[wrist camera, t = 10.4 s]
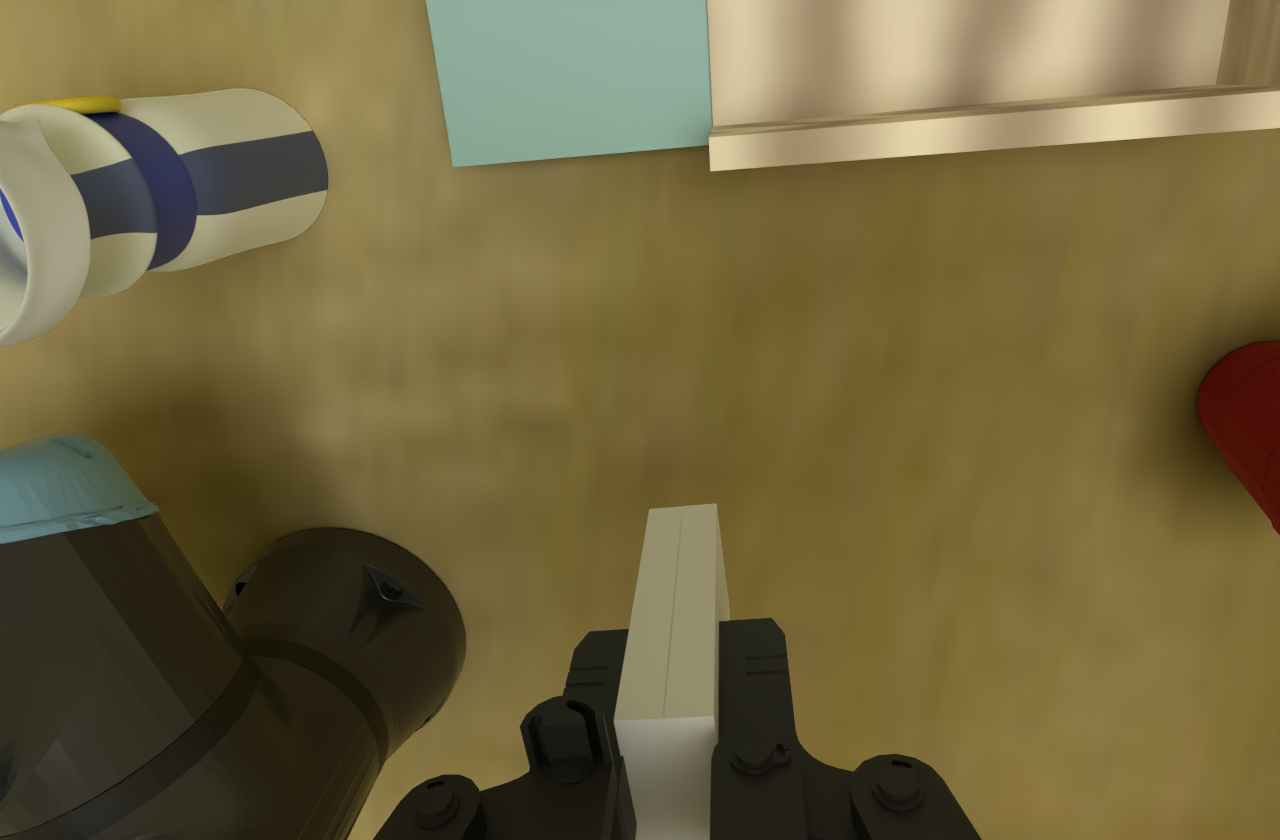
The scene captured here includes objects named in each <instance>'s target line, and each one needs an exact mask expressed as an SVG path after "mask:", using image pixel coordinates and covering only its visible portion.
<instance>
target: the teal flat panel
mask: <svg viewBox="0 0 1280 840" xmlns="http://www.w3.org/2000/svg"><path fill="white" fill-rule="evenodd" d="M426 4H427V10H428V17H429V23H430V29H431V35H432V41H433V47H434V53H435V59H436V65H437V71H438V77H439V84H440V90H441V96H442V102H443V108H444V114H445V120H446V126H447V132H448V138H449V145H450V151H451V157H452V163H453V167H463V166H474V165H486V164H497V163H509V162H520V161H532V160H543V159H555V158H566V157H578V156H589V155H601V154H612V153H623V152H635V151H646V150H658V149H669V148H681V147H692V146H704V145H709V136H710V133H711V130H712V128H713V124H712V103H711V82H710V61H709V41H708V20H707V0H426Z"/></svg>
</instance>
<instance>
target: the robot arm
mask: <svg viewBox="0 0 1280 840" xmlns="http://www.w3.org/2000/svg"><path fill="white" fill-rule="evenodd" d="M158 511H159V509H158V506H157V505H156V504H155V502H153V501H149V500H147V498H146V497H145V496H144V494H143V493H142V492H141V491H140V489H139V488H138V487H137V485H136V484H135V483H134V481H133V480H132V479H131V478H130V476H129V475H128V474H127V472H126V471H125V470H124V468H123V467H122V466H121V465H120V463H119V462H118V461H117V459H116V458H115V456H114V455H113V454H112V452H111V451H110V450H109V449H108V448H107V447H106V446H104V445H103V444H102V443H100V442H98V441H97V440H95V439H93V438H90V437H87V436H84V435H80V434H73V433H61V434H53V435H48V436H44V437H40V438H37V439H33V440H30V441H26V442H23V443H20V444H17V445H13V446H10V447H7V448H4V449H0V840H347V839H348V837H349V835H350V833H351V831H352V828H353V826H354V824H355V822H356V820H357V818H358V816H359V814H360V812H361V810H362V808H363V806H364V804H365V802H366V799H367V797H368V795H369V793H370V791H371V789H372V787H373V785H374V783H375V781H376V779H377V777H378V775H379V773H380V771H381V769H382V767H383V765H384V763H385V761H386V760H387V759H388V758H389V757H390V756H391V755H392V754H393V753H394V752H395V751H396V750H397V749H398V748H399V747H400V746H401V745H402V744H403V743H404V742H405V741H406V740H407V739H408V738H409V737H410V736H411V735H412V734H413V733H414V732H416V731H418V730H419V729H420V728H422V727H423V726H424V725H426V724H427V723H428V722H429V721H430V720H431V719H432V718H433V717H434V716H435V715H436V714H437V713H438V712H439V711H440V709H441V708H442V707H443V705H444V704H445V702H446V701H447V699H448V697H449V695H450V693H451V691H452V689H453V687H454V685H455V682H456V680H457V678H458V676H459V674H460V671H461V669H462V665H463V662H464V657H465V633H464V627H463V623H462V619H461V616H460V614H459V611H458V609H457V606H456V604H455V603H454V601H453V599H452V597H451V595H450V594H449V592H448V591H447V589H446V588H445V587H444V585H443V584H442V583H441V581H440V580H439V579H438V578H437V577H436V576H435V575H434V574H433V572H431V571H430V570H429V569H428V568H427V567H426V566H425V565H424V564H423V563H421V562H420V561H419V560H418V559H416V558H415V557H414V556H412V555H411V554H409V553H408V552H406V551H405V550H403V549H401V548H400V547H398V546H396V545H394V544H392V543H390V542H388V541H386V540H383V539H381V538H378V537H375V536H372V535H369V534H366V533H362V532H358V531H353V530H347V529H337V528H320V529H311V530H305V531H301V532H297V533H294V534H291V535H288V536H286V537H284V538H282V539H280V540H278V541H276V542H275V543H273V544H271V545H270V546H269V547H267V548H266V549H265V550H264V551H263V552H262V553H261V554H260V555H259V556H258V557H257V558H256V559H255V560H254V561H253V562H252V563H251V564H250V565H249V566H248V567H247V568H246V569H245V570H244V571H243V572H242V573H241V575H240V576H239V577H238V579H237V580H236V582H235V583H234V585H233V586H232V588H231V590H230V592H229V594H228V596H227V599H226V602H225V604H224V608H223V611H221V610H220V608H219V607H218V605H217V604H216V602H215V601H214V599H213V598H212V596H211V595H210V593H209V592H208V590H207V589H206V587H205V586H204V584H203V583H202V581H201V580H200V578H199V577H198V575H197V574H196V572H195V571H194V569H193V568H192V566H191V565H190V563H189V562H188V560H187V559H186V557H185V556H184V554H183V553H182V551H181V550H180V548H179V547H178V545H177V544H176V542H175V540H174V539H173V537H172V536H171V534H170V533H169V531H168V529H167V528H166V526H165V525H164V523H163V522H162V520H161V518H160V517H159V515H158V514H157V512H158ZM520 729H521V733H522V737H523V741H524V745H525V749H526V753H527V757H528V761H529V765H530V770H529V772H528V773H526V774H525V775H523V776H521V777H520V778H518V779H515V780H513V781H510V782H508V783H505V784H502V785H499V786H495V787H492V788H489V789H486V790H483V791H479V788H478V787H477V786H476V785H475V783H474V782H473V781H472V780H471V779H469V778H466V777H464V776H461V775H441V776H438V777H435V778H431V779H428V780H426V781H425V782H423V783H421V784H420V785H418V786H416V787H415V788H413V789H412V790H411V791H410V792H409V793H408V794H407V795H406V796H405V797H404V798H403V799H402V800H401V801H400V803H399V804H398V805H397V807H396V808H395V810H394V811H393V812H392V814H391V815H390V816H389V818H388V819H387V821H386V822H385V823H384V825H383V826H382V828H381V829H380V830H379V832H378V833H377V835H376V836H375V837H374V839H373V840H635V836H637V840H982V839H981V838H980V836H979V835H978V833H977V832H976V830H975V829H974V827H973V825H972V824H971V822H970V821H969V819H968V818H967V816H966V815H965V813H964V811H963V810H962V808H961V807H960V805H959V804H958V802H957V801H956V799H955V797H954V796H953V794H952V793H951V791H950V790H949V788H948V786H947V785H946V783H945V782H944V780H943V779H942V778H941V777H940V776H939V775H938V774H937V773H936V771H935V770H934V769H933V768H932V767H931V766H929V765H927V764H925V763H923V762H921V761H919V760H918V759H916V758H913V757H908V756H903V755H899V754H889V755H878V756H876V757H873V758H871V759H868V760H866V761H864V762H863V763H862V764H861V765H860V766H859V767H858V768H857V769H856V770H855V771H854V772H853V771H848V770H844V769H839V768H836V767H833V766H830V765H827V764H824V763H822V762H820V761H819V760H817V759H815V758H813V757H812V756H811V755H810V754H809V753H808V752H807V751H805V750H804V748H803V747H802V745H801V744H800V742H799V741H798V737H797V734H796V730H795V721H794V712H793V703H792V694H791V685H790V676H789V668H788V659H787V650H786V641H785V634H784V633H783V632H782V630H781V629H780V628H779V627H778V625H777V624H776V623H775V621H774V620H773V619H772V618H763V619H748V620H732V621H730V617H729V600H728V592H727V584H726V576H725V568H724V560H723V552H722V544H721V536H720V528H719V520H718V512H717V504H704V505H692V506H680V507H669V508H657V509H649V514H648V520H647V526H646V532H645V538H644V544H643V550H642V556H641V562H640V568H639V573H638V579H637V585H636V591H635V597H634V603H633V609H632V615H631V621H630V627H629V629H621V630H606V631H590V632H589V633H588V634H587V635H586V636H585V637H584V639H583V640H582V641H581V642H580V643H579V645H578V646H577V647H576V648H575V650H574V653H573V657H572V661H571V665H570V672H569V673H568V677H567V680H566V688H564V692H563V696H558V697H553V698H551V699H549V700H546V701H544V702H542V703H540V704H538V705H537V706H536V707H535V708H533V709H532V710H531V711H530V712H529V713H528V714H527V715H526V716H525V718H524V720H523V722H522V723H521V725H520Z"/></svg>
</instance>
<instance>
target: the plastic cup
mask: <svg viewBox="0 0 1280 840" xmlns="http://www.w3.org/2000/svg"><path fill="white" fill-rule="evenodd" d="M1197 411H1198V413H1199V416H1200V419H1201V422H1202V425H1203V427H1204V430H1205V433H1206V434H1207V436H1208V437H1209V438H1210V439H1211V441H1212V442H1213V443H1214V444H1215V446H1216V447H1217V448H1218V450H1219V451H1220V452H1221V453H1222V455H1223V458H1224V461H1225V462H1226V464H1227V465H1228V466H1229V467H1230V469H1231V470H1232V471H1233V473H1234V474H1235V475H1236V476H1237V478H1238V479H1239V480H1240V482H1241V483H1242V484H1243V485H1244V487H1245V488H1246V489H1247V491H1248V492H1249V493H1250V495H1251V496H1252V497H1253V498H1254V500H1255V501H1256V502H1257V504H1258V505H1259V506H1260V507H1261V509H1262V510H1263V511H1264V513H1265V514H1266V515H1267V516H1268V518H1269V519H1270V520H1271V522H1272V525H1273V528H1274V529H1275V530H1276V531H1277V532H1278V534H1279V535H1280V341H1273V342H1260V343H1253V344H1250V345H1248V346H1246V347H1243V348H1241V349H1238V350H1236V351H1233V352H1231V353H1230V354H1228V355H1227V356H1226V357H1225V358H1224V359H1222V360H1221V361H1220V362H1219V363H1218V364H1216V365H1215V366H1214V367H1213V368H1212V369H1211V370H1210V372H1209V373H1208V375H1207V377H1206V378H1205V380H1204V382H1203V383H1202V385H1201V387H1200V389H1199V395H1198V402H1197Z"/></svg>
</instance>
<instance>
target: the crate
mask: <svg viewBox="0 0 1280 840" xmlns="http://www.w3.org/2000/svg"><path fill="white" fill-rule="evenodd" d="M707 11H708V32H709V53H710V74H711V94H712V115H713V128H712V130H711V133H710V136H709V153H710V171H720V170H733V169H746V168H759V167H772V166H785V165H799V164H812V163H825V162H838V161H851V160H864V159H877V158H890V157H903V156H916V155H929V154H943V153H956V152H969V151H982V150H995V149H1008V148H1021V147H1034V146H1047V145H1060V144H1074V143H1087V142H1100V141H1113V140H1126V139H1139V138H1152V137H1165V136H1178V135H1191V134H1204V133H1218V132H1231V131H1244V130H1257V129H1270V128H1280V0H707Z"/></svg>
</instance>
